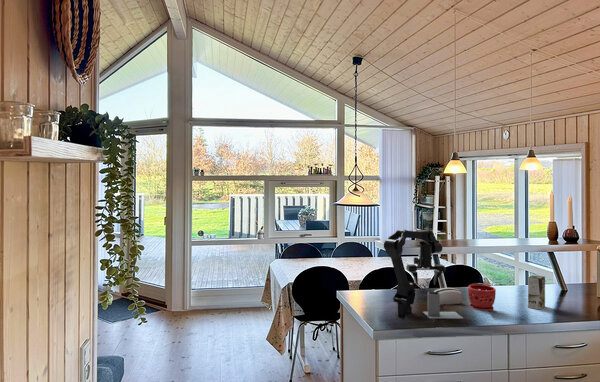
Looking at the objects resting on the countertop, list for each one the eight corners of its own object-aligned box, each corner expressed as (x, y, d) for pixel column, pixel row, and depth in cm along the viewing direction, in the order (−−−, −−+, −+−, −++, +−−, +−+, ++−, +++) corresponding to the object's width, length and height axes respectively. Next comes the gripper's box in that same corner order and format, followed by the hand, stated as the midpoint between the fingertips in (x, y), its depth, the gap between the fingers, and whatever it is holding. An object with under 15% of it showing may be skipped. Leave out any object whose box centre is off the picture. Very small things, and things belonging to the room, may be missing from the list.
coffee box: (541, 310, 217) (541, 278, 218) (527, 307, 222) (527, 277, 222) (545, 306, 224) (545, 276, 224) (532, 304, 228) (532, 274, 229)
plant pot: (462, 308, 220) (462, 285, 220) (481, 305, 225) (481, 283, 225) (482, 315, 208) (482, 290, 208) (501, 312, 213) (501, 288, 213)
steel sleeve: (428, 316, 201) (428, 294, 201) (427, 313, 206) (427, 291, 206) (439, 316, 199) (439, 294, 199) (438, 313, 204) (438, 292, 204)
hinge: (456, 301, 235) (459, 285, 231) (460, 306, 230) (464, 290, 227) (428, 302, 231) (431, 286, 228) (432, 307, 227) (436, 291, 224)
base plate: (429, 321, 197) (429, 311, 197) (422, 314, 208) (422, 305, 208) (463, 321, 197) (463, 311, 197) (455, 314, 208) (455, 305, 208)
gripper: (438, 252, 225) (438, 281, 225) (403, 252, 225) (403, 281, 225) (445, 255, 214) (445, 286, 213) (409, 255, 213) (409, 286, 213)
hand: (425, 284), depth 216 cm, fingers open, 9 cm apart
